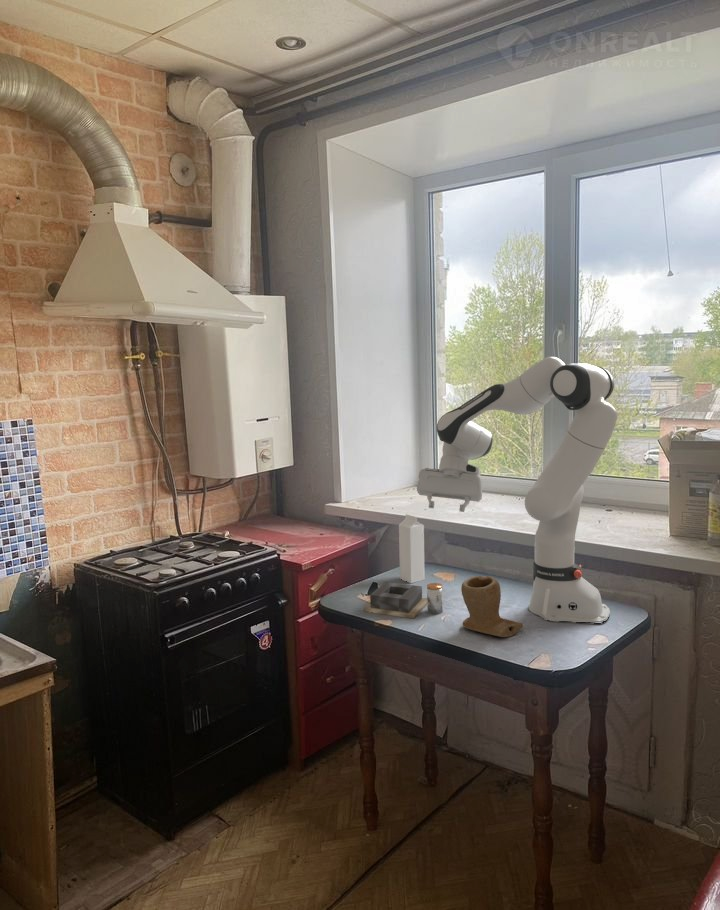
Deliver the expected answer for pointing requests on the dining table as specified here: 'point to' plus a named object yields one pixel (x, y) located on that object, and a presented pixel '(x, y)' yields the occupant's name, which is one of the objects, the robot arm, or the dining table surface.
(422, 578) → the milk
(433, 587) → the glass jar
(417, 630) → the dining table surface
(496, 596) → the tan boot-shaped piece
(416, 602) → the socket board
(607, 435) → the robot arm
